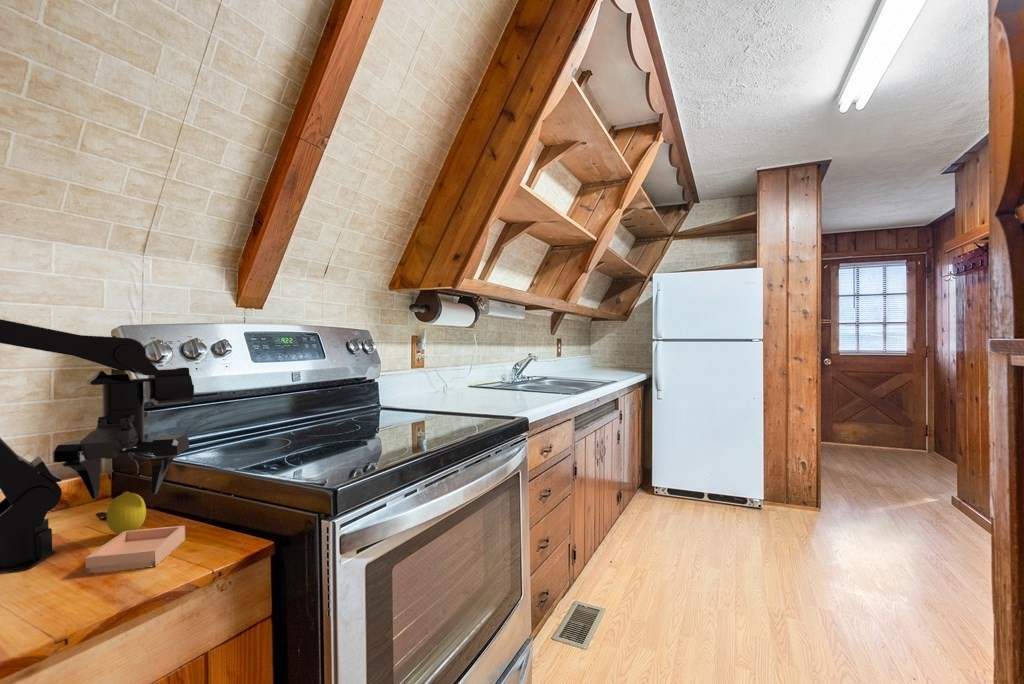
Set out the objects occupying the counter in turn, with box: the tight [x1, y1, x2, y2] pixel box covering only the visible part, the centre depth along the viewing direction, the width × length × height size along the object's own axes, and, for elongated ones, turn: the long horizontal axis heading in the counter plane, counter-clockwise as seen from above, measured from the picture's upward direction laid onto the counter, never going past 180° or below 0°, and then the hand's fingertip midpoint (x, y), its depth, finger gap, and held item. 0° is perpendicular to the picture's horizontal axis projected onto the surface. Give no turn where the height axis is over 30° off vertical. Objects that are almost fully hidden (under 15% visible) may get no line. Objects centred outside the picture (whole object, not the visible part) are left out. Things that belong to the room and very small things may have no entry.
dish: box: [84, 525, 186, 575], centre depth 79 cm, size 9×10×2 cm
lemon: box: [106, 491, 147, 535], centre depth 87 cm, size 6×6×8 cm
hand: (125, 496), depth 87 cm, fingers open, 9 cm apart
